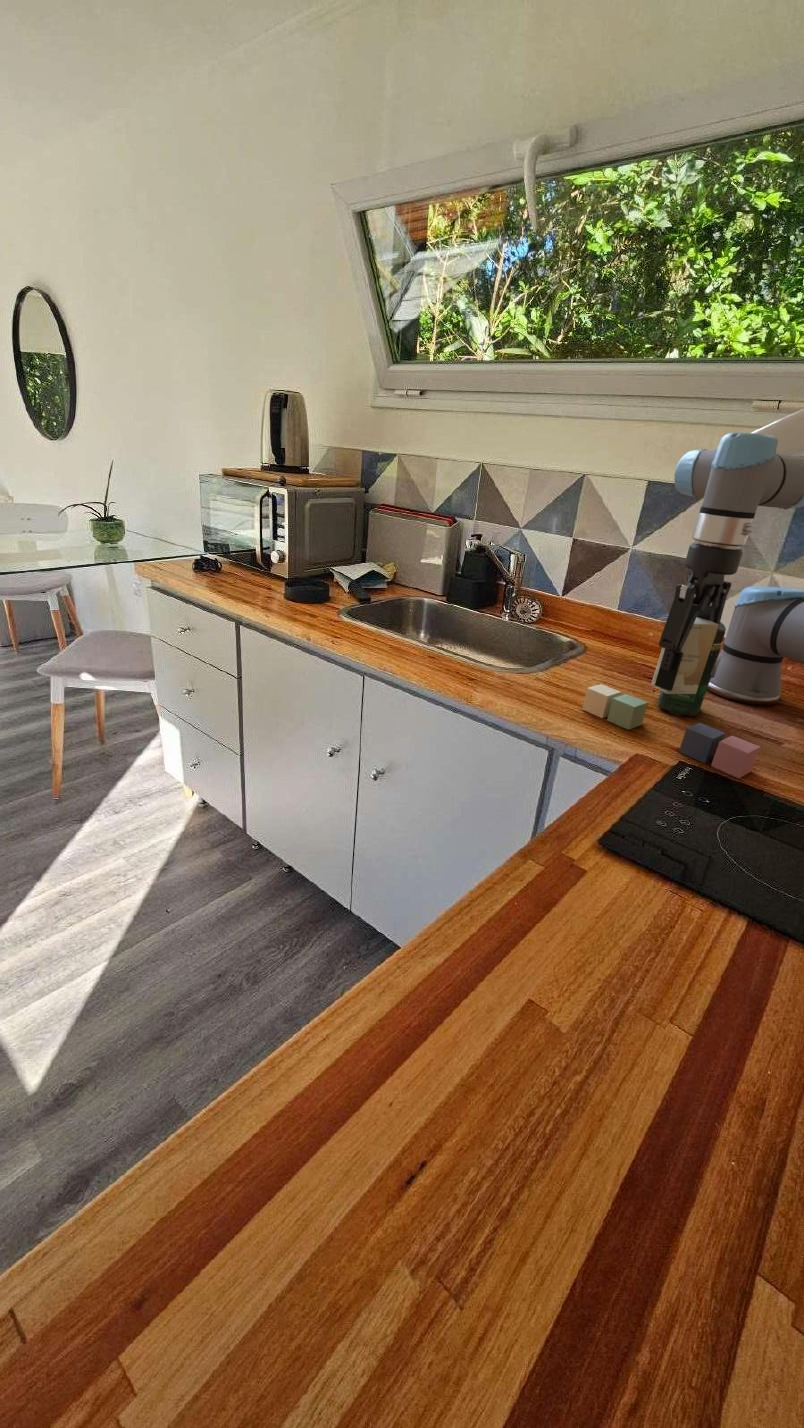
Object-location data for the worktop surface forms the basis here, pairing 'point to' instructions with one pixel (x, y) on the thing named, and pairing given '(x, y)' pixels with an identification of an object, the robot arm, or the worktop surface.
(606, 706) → the block cream
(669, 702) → the coffee jar
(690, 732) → the block slate
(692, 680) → the cosmetic box
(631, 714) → the block sage
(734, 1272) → the worktop surface
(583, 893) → the worktop surface
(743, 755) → the block rose
